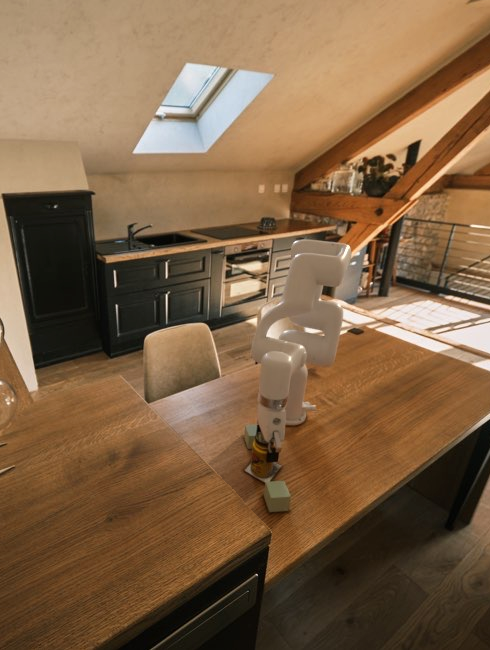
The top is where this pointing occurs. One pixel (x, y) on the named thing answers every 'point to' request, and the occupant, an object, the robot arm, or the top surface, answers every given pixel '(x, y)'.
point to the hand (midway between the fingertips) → (266, 448)
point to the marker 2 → (276, 496)
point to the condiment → (261, 460)
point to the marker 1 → (250, 435)
